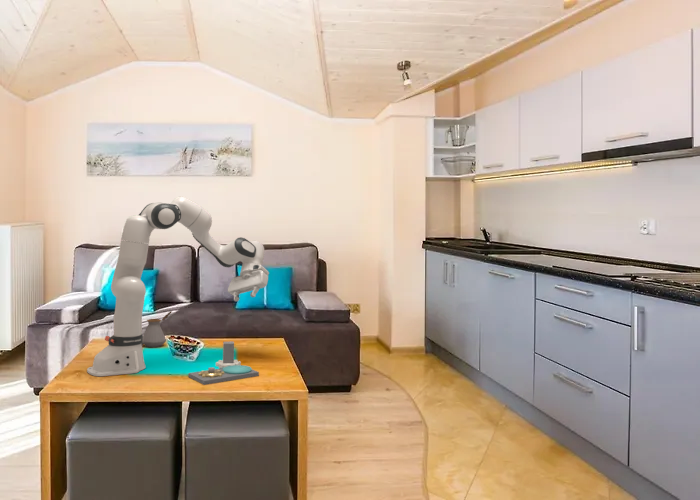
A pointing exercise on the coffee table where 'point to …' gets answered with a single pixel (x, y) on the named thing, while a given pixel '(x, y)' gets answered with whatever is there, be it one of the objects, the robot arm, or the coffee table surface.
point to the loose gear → (228, 356)
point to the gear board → (223, 374)
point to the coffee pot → (154, 333)
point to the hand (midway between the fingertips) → (244, 298)
